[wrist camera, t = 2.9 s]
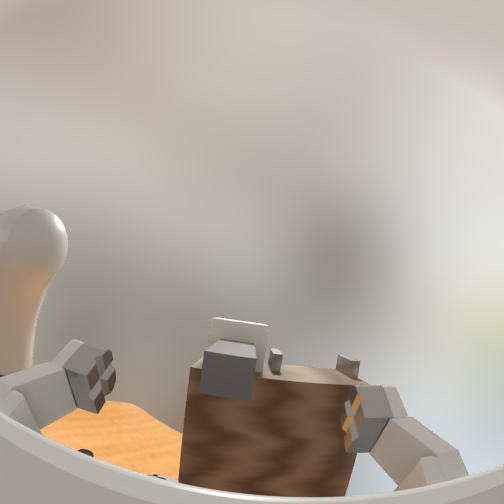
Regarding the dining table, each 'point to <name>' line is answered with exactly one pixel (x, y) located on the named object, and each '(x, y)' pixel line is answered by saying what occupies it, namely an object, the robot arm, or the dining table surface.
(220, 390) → the grey and white block
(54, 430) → the dining table surface
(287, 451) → the brown wood grain box
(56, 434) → the dining table surface
